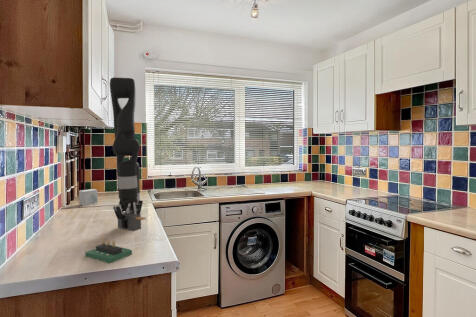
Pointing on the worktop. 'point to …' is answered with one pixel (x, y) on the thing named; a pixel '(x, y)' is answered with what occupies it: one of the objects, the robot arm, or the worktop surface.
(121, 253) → the header board
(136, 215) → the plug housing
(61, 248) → the worktop surface
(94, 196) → the skincare box
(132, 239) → the worktop surface
